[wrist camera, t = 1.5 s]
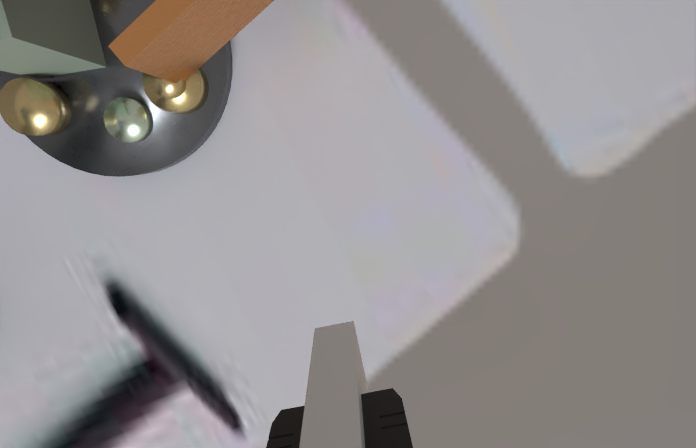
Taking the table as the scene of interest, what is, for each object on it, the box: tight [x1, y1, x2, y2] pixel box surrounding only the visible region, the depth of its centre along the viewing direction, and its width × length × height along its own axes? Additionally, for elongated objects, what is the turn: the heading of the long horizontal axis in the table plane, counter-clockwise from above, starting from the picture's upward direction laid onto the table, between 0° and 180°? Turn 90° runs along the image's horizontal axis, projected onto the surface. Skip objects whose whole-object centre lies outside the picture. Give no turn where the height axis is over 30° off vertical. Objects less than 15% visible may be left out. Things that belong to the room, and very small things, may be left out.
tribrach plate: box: [0, 0, 232, 176], centre depth 32 cm, size 20×20×4 cm
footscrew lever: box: [108, 0, 274, 114], centre depth 26 cm, size 15×4×10 cm, turn 128°
